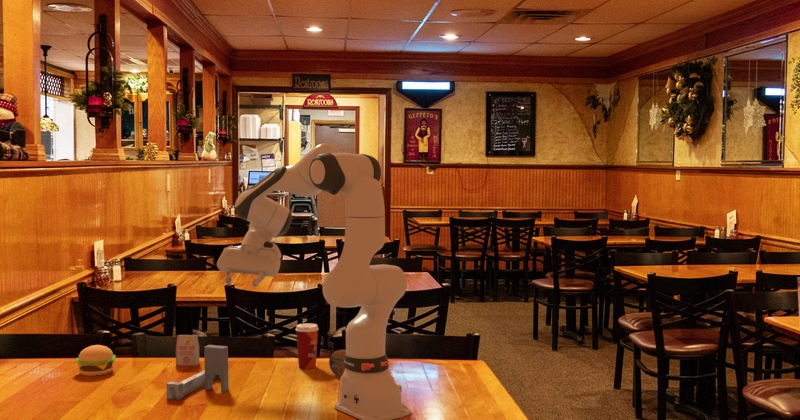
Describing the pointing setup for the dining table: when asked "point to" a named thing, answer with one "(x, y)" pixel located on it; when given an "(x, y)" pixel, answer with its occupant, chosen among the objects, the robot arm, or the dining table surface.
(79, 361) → the hamburger
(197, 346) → the printed food carton
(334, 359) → the tin
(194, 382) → the rail
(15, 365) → the dining table surface
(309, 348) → the paper cup
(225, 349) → the clip
